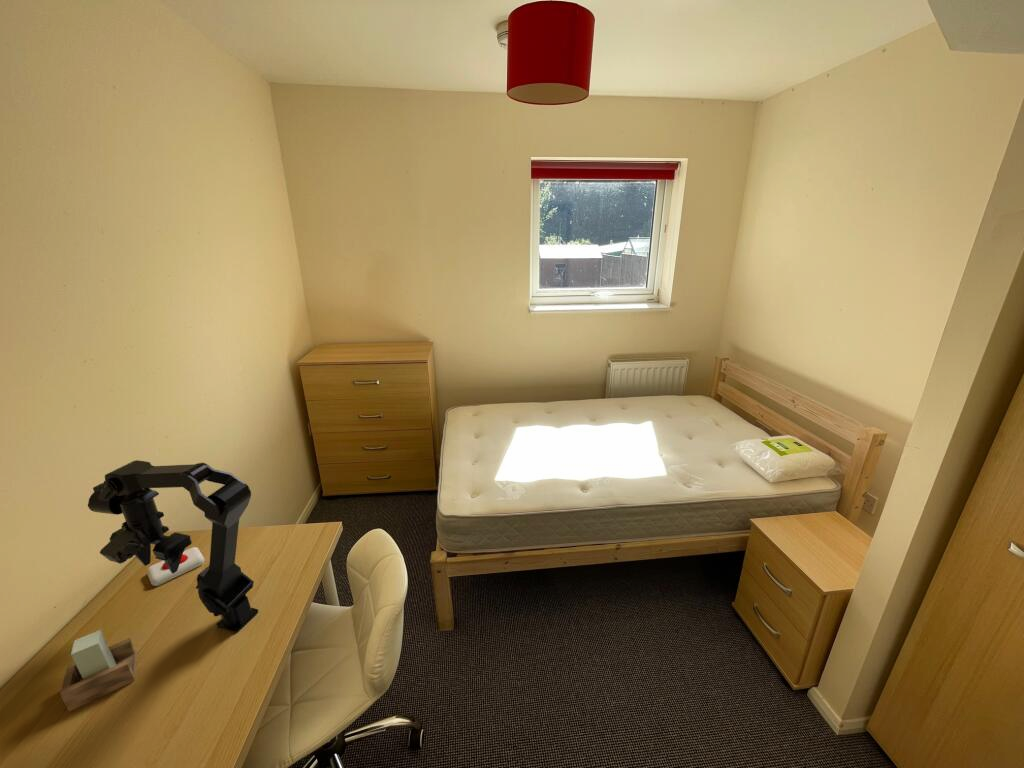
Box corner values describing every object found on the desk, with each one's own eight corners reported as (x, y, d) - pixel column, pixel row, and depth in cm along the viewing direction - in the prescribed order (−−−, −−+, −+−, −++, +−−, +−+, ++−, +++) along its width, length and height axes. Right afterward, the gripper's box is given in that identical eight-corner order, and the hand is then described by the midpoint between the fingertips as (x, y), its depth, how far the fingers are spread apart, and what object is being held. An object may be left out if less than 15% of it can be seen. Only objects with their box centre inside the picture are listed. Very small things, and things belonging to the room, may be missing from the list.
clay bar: (116, 664, 92) (100, 629, 89) (114, 678, 89) (98, 643, 86) (91, 675, 90) (74, 640, 86) (88, 690, 87) (70, 654, 83)
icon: (193, 537, 127) (202, 552, 121) (197, 549, 129) (206, 564, 122) (141, 559, 119) (148, 577, 112) (146, 572, 120) (153, 590, 114)
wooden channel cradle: (136, 653, 96) (129, 637, 94) (134, 680, 90) (127, 664, 88) (75, 680, 90) (67, 664, 88) (69, 711, 84) (60, 694, 82)
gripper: (71, 529, 93) (95, 584, 98) (131, 544, 88) (153, 602, 93) (128, 500, 103) (147, 552, 108) (184, 513, 98) (201, 567, 103)
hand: (161, 568), depth 103 cm, fingers open, 9 cm apart
